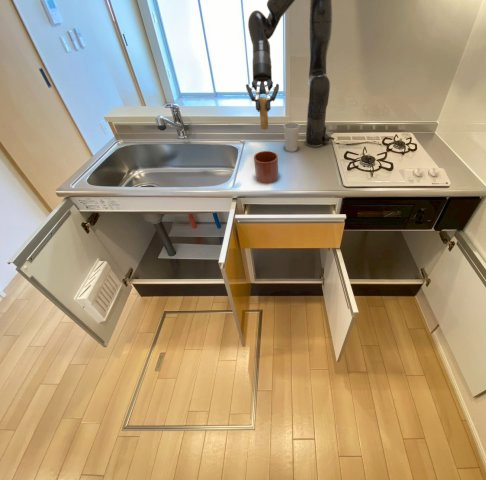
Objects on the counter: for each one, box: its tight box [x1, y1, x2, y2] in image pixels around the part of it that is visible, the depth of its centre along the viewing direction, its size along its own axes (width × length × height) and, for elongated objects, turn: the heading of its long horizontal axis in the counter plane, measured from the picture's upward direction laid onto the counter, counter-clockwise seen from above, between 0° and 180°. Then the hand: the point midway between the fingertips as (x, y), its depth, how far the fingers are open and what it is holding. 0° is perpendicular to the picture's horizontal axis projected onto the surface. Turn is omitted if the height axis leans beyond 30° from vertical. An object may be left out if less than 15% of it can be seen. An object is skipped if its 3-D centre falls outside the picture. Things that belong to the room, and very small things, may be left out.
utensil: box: [259, 96, 269, 131], centre depth 110 cm, size 3×3×12 cm
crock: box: [253, 150, 280, 184], centre depth 117 cm, size 10×10×10 cm
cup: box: [283, 121, 301, 153], centre depth 134 cm, size 8×8×12 cm
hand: (263, 110), depth 107 cm, fingers closed on utensil, 3 cm apart
